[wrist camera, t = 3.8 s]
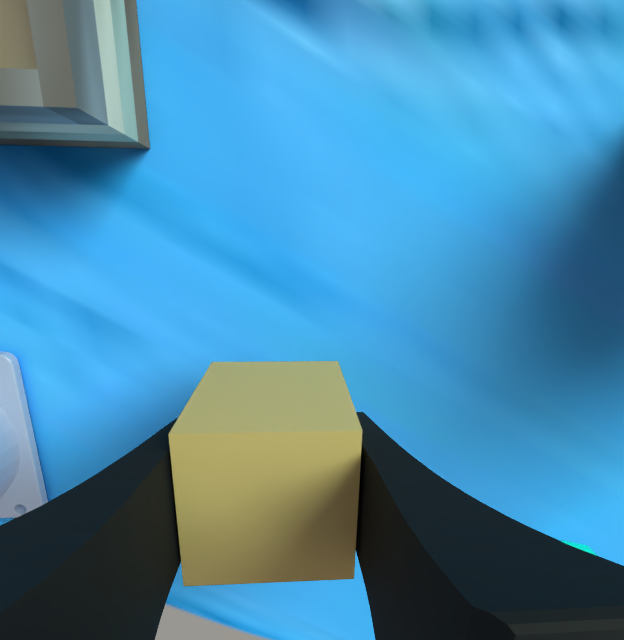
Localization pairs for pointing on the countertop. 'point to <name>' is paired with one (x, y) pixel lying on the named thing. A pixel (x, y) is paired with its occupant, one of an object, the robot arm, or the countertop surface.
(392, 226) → the countertop surface
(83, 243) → the countertop surface
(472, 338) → the countertop surface
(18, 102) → the tower base
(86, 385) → the countertop surface
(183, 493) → the ochre block
